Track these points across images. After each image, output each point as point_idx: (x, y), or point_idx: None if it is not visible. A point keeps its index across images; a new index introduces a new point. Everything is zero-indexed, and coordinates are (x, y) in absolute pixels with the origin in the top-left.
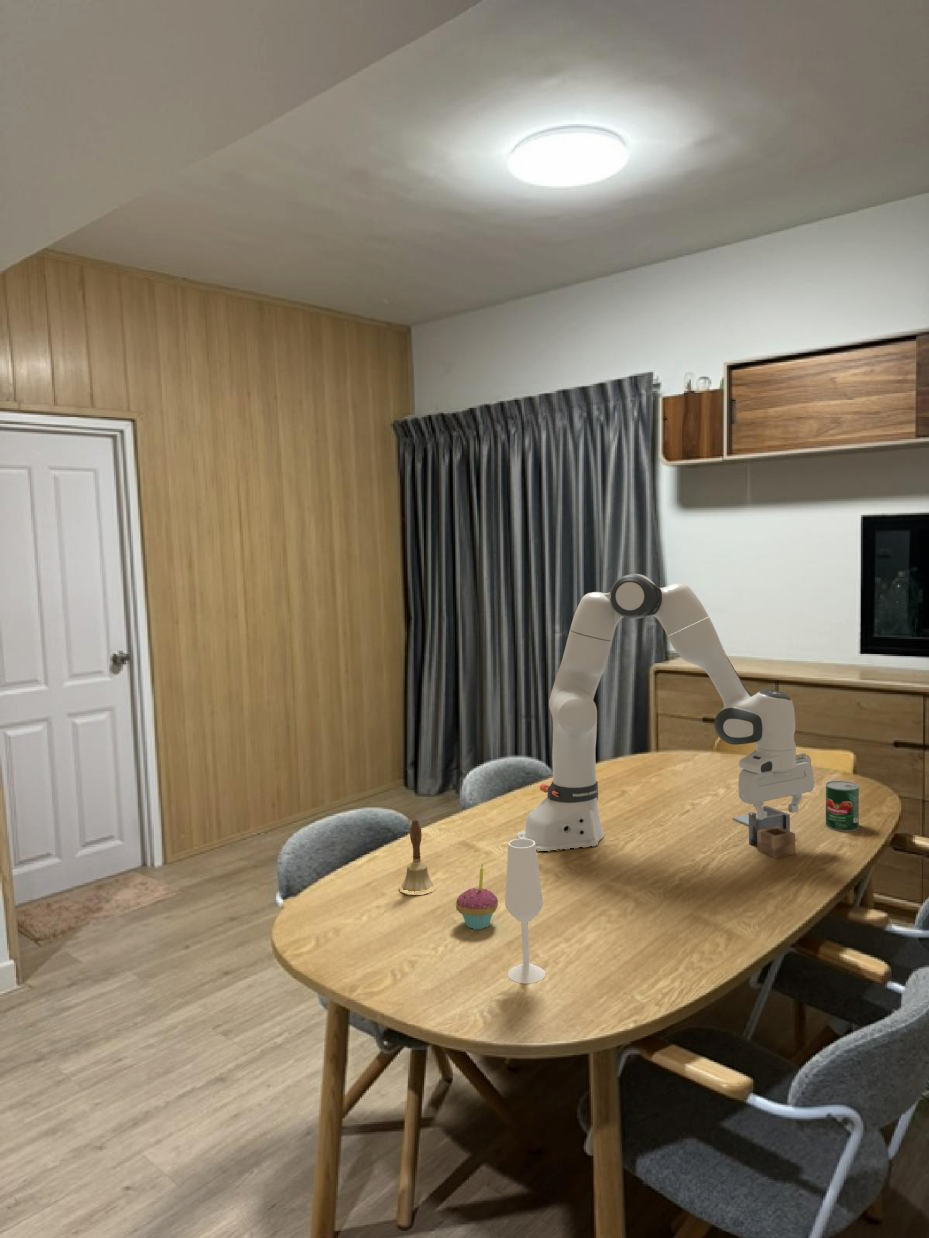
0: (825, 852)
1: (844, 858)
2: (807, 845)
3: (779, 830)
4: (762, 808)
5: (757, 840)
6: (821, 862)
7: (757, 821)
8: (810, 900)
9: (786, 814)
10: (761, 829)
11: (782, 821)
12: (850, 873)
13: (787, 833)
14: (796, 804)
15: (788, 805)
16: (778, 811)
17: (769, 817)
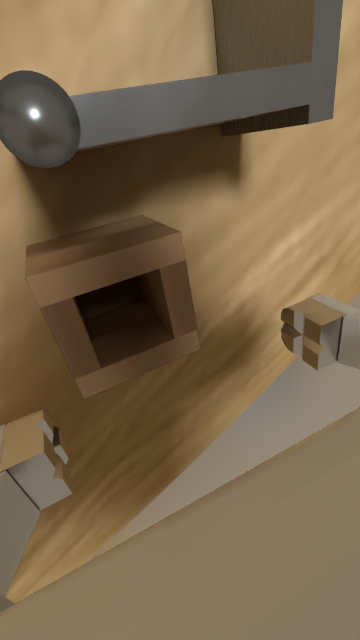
0: (252, 308)
1: (264, 353)
2: (246, 238)
3: (162, 287)
4: (12, 576)
5: (26, 259)
6: (197, 378)
7: (80, 148)
8: (45, 580)
9: (321, 105)
10: (60, 271)
11: (266, 113)
12: (215, 437)
13: (170, 346)
14: (345, 362)
15: (313, 324)
16: (326, 3)
17: (198, 121)
